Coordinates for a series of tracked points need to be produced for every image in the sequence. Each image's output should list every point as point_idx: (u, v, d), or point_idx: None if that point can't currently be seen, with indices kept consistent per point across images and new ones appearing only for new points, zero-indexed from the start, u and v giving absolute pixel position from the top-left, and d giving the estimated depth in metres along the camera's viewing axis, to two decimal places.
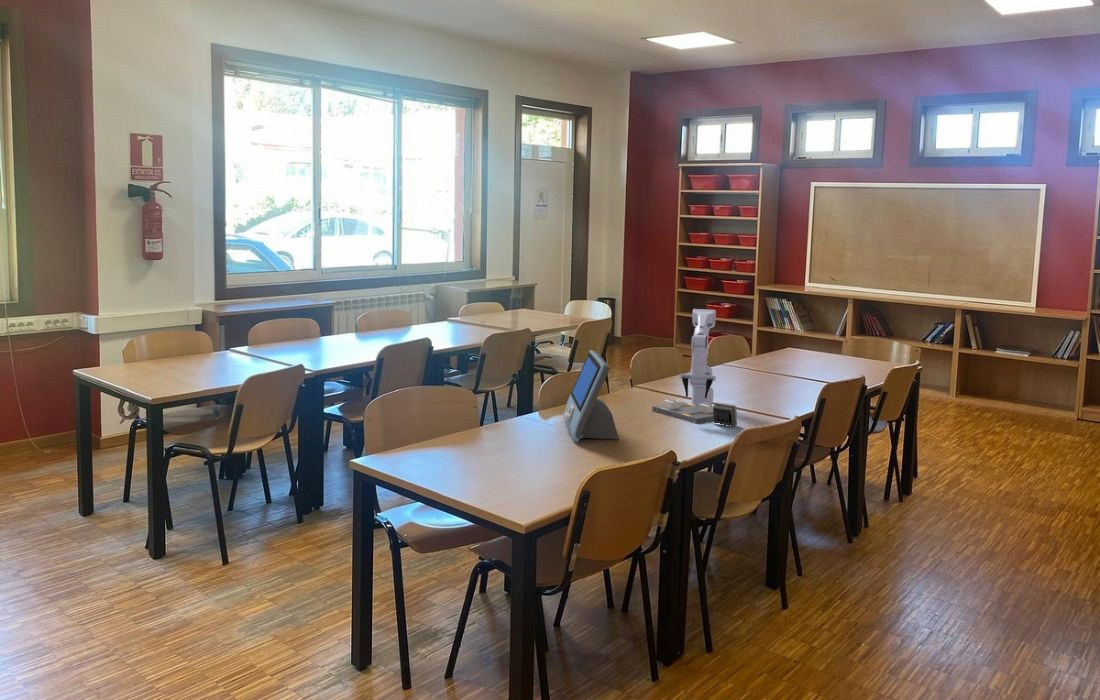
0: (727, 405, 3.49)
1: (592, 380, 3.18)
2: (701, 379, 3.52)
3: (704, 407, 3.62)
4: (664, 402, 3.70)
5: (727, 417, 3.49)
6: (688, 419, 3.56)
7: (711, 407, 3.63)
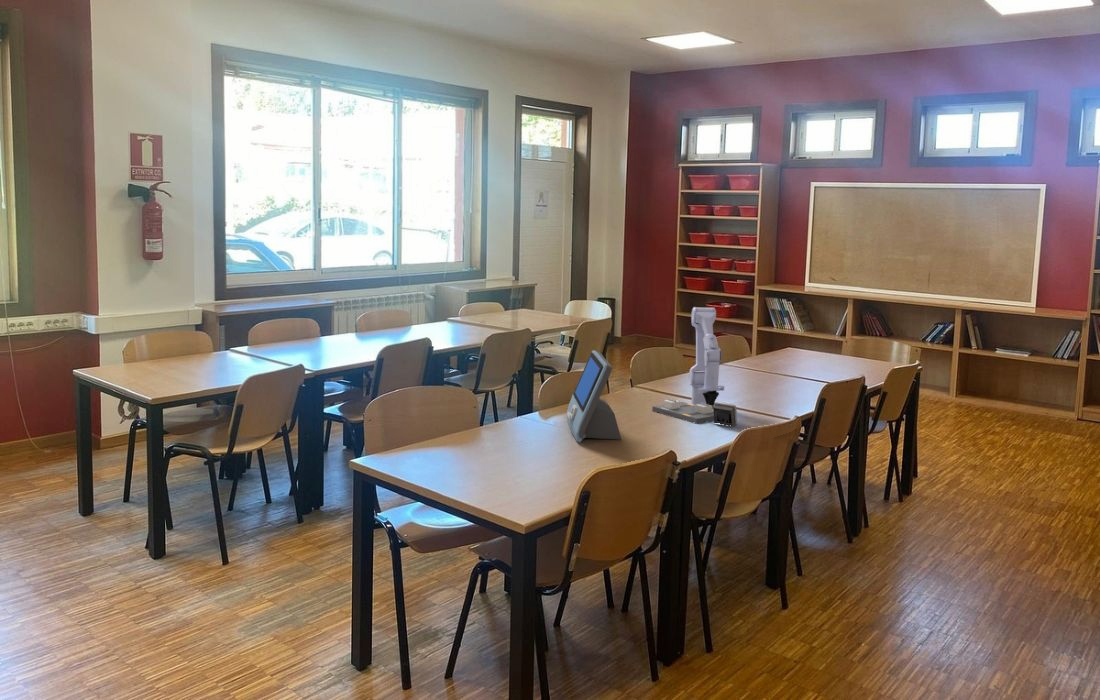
0: (727, 405, 3.49)
1: (595, 380, 3.18)
2: (714, 391, 3.65)
3: (701, 408, 3.61)
4: (664, 402, 3.70)
5: (727, 417, 3.49)
6: (688, 419, 3.56)
7: (708, 408, 3.61)
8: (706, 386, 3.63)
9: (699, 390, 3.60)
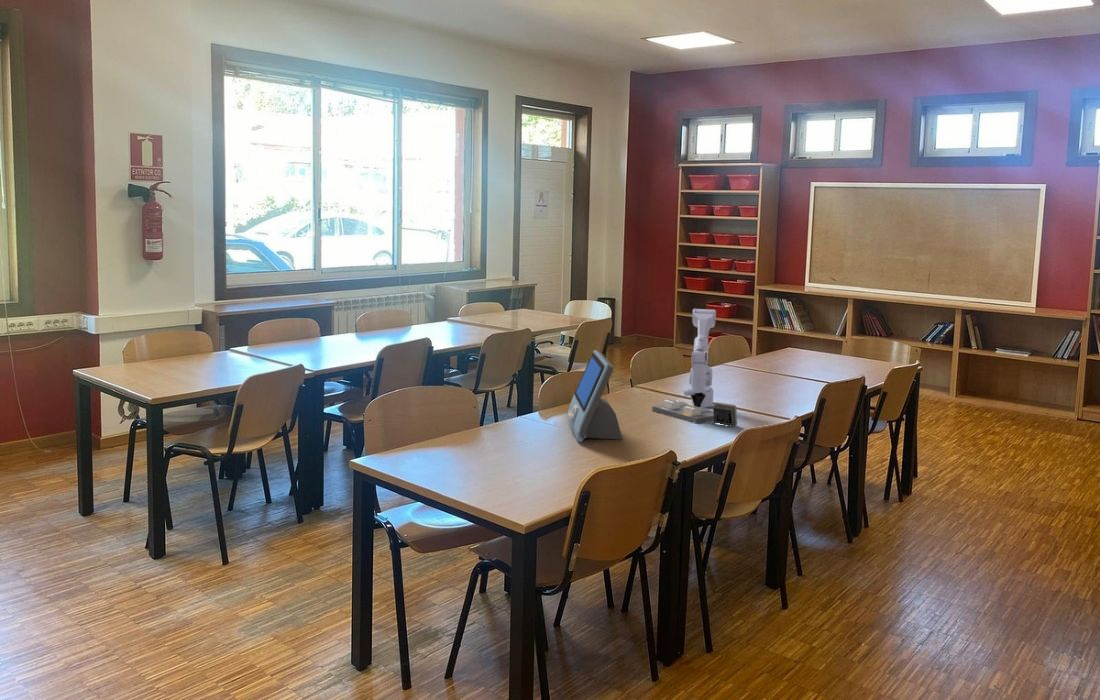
0: (727, 405, 3.49)
1: (596, 380, 3.18)
2: (701, 393, 3.61)
3: (689, 409, 3.57)
4: (664, 402, 3.70)
5: (727, 417, 3.49)
6: (688, 419, 3.56)
7: (696, 409, 3.57)
8: (693, 388, 3.58)
9: (686, 392, 3.55)
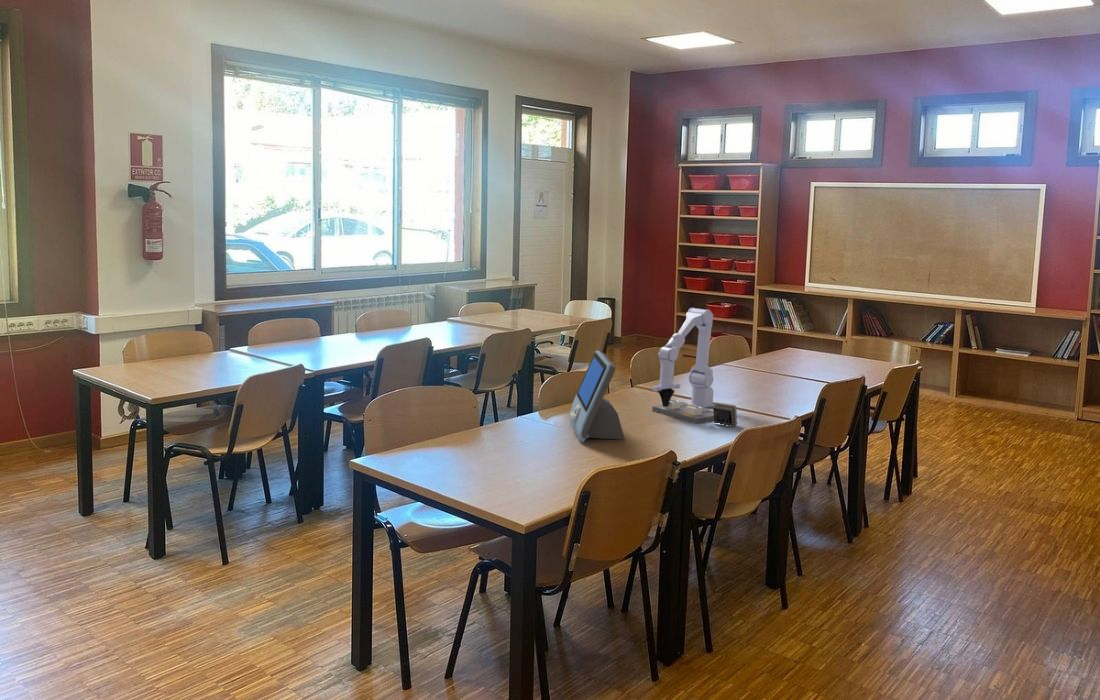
0: (727, 405, 3.49)
1: (598, 380, 3.18)
2: None
3: (691, 409, 3.58)
4: None
5: (727, 417, 3.49)
6: (688, 419, 3.56)
7: (698, 409, 3.58)
8: (661, 384, 3.65)
9: (654, 388, 3.62)
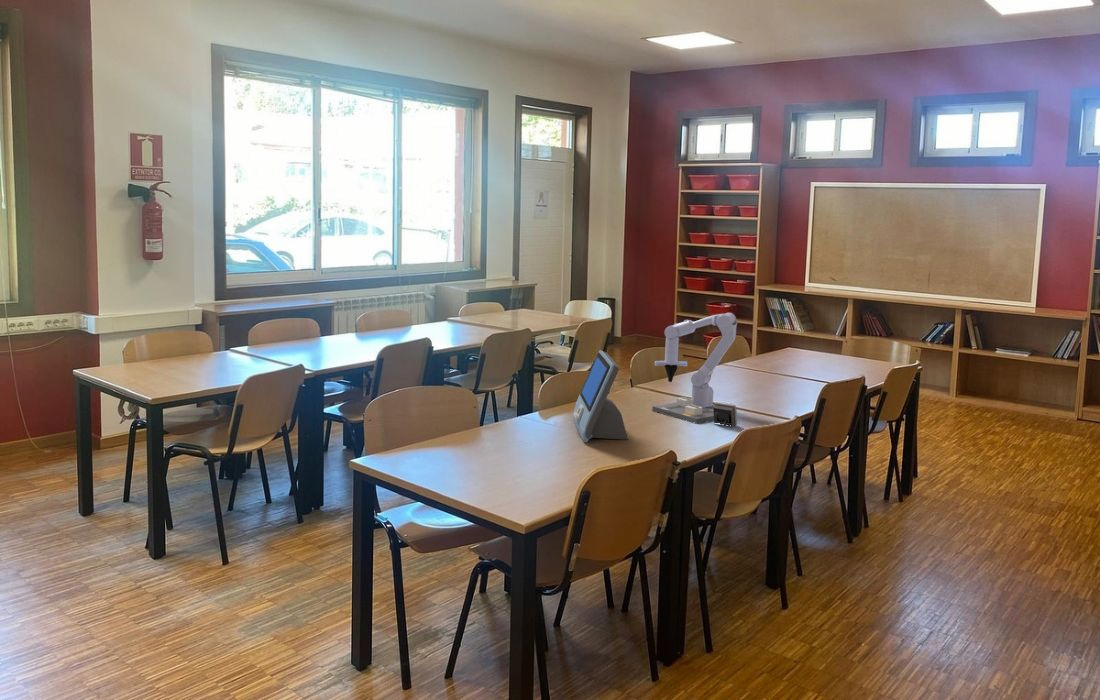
0: (727, 405, 3.49)
1: (601, 380, 3.18)
2: None
3: (691, 409, 3.58)
4: (677, 400, 3.75)
5: (727, 417, 3.49)
6: (688, 419, 3.56)
7: (698, 409, 3.58)
8: None
9: (655, 362, 3.88)
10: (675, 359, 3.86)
